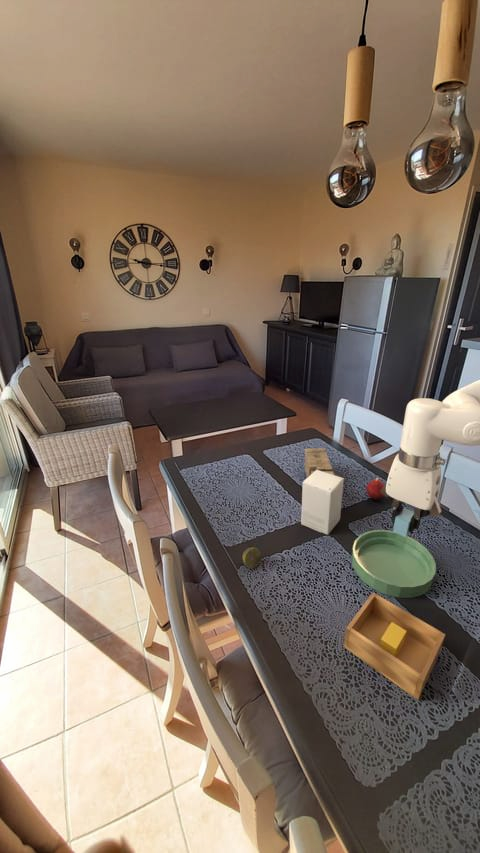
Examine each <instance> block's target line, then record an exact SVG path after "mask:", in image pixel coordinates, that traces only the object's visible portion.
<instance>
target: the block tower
mask: <svg viewBox="0 0 480 853" xmlns="http://www.w3.org/2000/svg"><path fill="white" fill-rule="evenodd" d="M303 467H304V473H305V474H306V475H305V476H306V479H307V478H308V477H309V476H310V475H311V474H312V473H313V472H315V471H316V470H319V471H322V472H325V473H329V474H332V475H335V473H334V471H333V467H332V464H331V460H330V458H329V457H328V454H327V449H326V448H325V447H319V448H304V466H303Z"/></svg>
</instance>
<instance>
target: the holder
mask: <svg viewBox="0 0 480 853" xmlns="http://www.w3.org/2000/svg"><path fill="white" fill-rule="evenodd" d="M391 622H393V623H395V624H396V625H398V626H399V627H401V628H403V629H404V630H406V631H407V632H406V636H405V640H404V645H403V646H402V648H401V650H400V652H399V653H398V655H397V657H394V656H393V655H391V654H390V653H388V652H387V651H385V650H384V649H382V648H381V647H380V642H381V638H382V637H383V635H384V633H385V632H386V630H387V629H388V627H389V625H390V624H391ZM445 638H446V633H444V632H442V631H441V630H438V628H435V627H434V626H432V625H431V624H428V623H427V622H425V621H424V620H422V619H421V618H418V617H416V616H415V615H413V614H411V613H410V612H408V611H407V610H405V609H403V608H401V607H399V606H398V605H396V604H394V603H392V602H390V601H389V600H387V599H386V598H384V597H383V596H381V595H379V594H377V593H375V592H372V593H370V595H369V597H368V598H367V599H366V601H365V602H364V603H363V605H362V606H361V607H360V609H359V610H358V611H357V613H356V614H355V615H354V617H353V618H352V619H351V621H350V622H349V624H348V625H347V626H346V628H345V634H344V642H343V647H344V648H345V649H346V650H347V651H348V652H350V653H351V654H353V655H354V656H356V657H357V658H359V659H360V660H361V661H363V662H364V663H365V664H367V665H368V666H370V668H373V669H374V670H375V671H376V672H378V673H379V674H381V675H382V676H383V677H385V678H386V679H388V680H389V681H391V682H392V683H393V684H395V686H397V687H399V688H400V689H401V690H403V691H404V692H406V693H407V694H409V695H410V696H411V697H412V698H414V699H415V700H416V701H419V700H420V698H421V696H422V694H423V692H424V690H425V687H426V685H427V682H428V680H429V678H430V676H431V675H432V674H431V673H432V671H433V670H434V667H435V665H436V663H437V660H438V658H439V657H440V654H441V651H442V648H443V645H444V641H445Z"/></svg>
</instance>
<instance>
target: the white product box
mask: <svg viewBox="0 0 480 853" xmlns="http://www.w3.org/2000/svg"><path fill="white" fill-rule="evenodd" d="M344 481H345V478H344V477H341V476H338V475H336V474H334V475H332V474H329V473H325V472H322V471H319V470H316V471H315V472H313V473H312V474H311V475H310V476H309V477H308V478H307V477H306V479H304V480H303V481H302V489H301V490H302V493H301V515H300V516H301V518H300V524H301V525H302V526H304V527H307V528H309V529H311V530H314V531H316V532H319V533H323V534H325V535H327V536H329V534H330V533H331V532H332V531H333V530H334V528H335V527H336V526H337V524H338V523H339V522H340V520H341V514H342V512H341V511H342V504H343V503H342V502H343V491H344Z"/></svg>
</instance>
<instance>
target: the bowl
mask: <svg viewBox="0 0 480 853" xmlns="http://www.w3.org/2000/svg"><path fill="white" fill-rule="evenodd" d="M351 566H352V568H353V570H354V572H355V574H356V575H357V576H358V578H360V579H361V581H362V582H363V583H364V584H366V585H367V586H369V587H370V588H371V589H373V590H374V591H377V592H378V593H381V594H384V595H386V596H390V597H393V598H399V599H412V598H417V597H422V596H423V595H424V594H426V593H427V592H429V591H430V589H431V588H432V586H433V584H434V581H435V578H436V574H437V563H436V560H435V558H434V555H433V554H432V553H431V552H430V550H428V548H427V547H426V546H424V545H423V544H422V543H421V542H419V541H418V540H417V539H414V538H413V537H410V536H409V535H408V536H407V537H404V536H402V535H399V534H397V533H395V532H393V530H387V529H374V530H368V531H366V532H364V533H361V534H360V535H358V537H356V538H355V540H354V542H353V545H352V550H351Z"/></svg>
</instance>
